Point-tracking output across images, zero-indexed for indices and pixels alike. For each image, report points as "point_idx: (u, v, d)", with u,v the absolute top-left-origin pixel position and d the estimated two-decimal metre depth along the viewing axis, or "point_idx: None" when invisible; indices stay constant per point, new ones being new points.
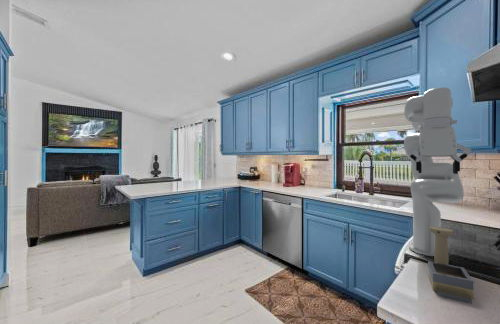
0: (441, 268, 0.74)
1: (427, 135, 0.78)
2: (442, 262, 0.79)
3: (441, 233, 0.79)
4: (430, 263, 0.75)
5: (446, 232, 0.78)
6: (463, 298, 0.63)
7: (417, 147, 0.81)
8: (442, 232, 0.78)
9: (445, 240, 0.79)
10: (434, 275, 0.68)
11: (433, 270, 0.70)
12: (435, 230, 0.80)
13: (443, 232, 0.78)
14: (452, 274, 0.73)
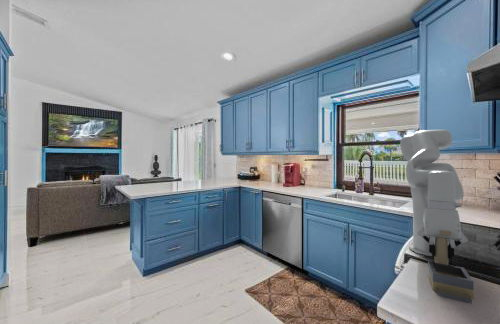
0: (441, 268, 0.74)
1: (431, 216, 0.80)
2: (442, 262, 0.79)
3: (441, 233, 0.79)
4: (430, 263, 0.75)
5: (446, 232, 0.78)
6: (463, 298, 0.63)
7: None
8: (442, 232, 0.78)
9: (445, 240, 0.79)
10: (434, 275, 0.68)
11: (433, 270, 0.70)
12: None
13: (443, 232, 0.78)
14: (452, 274, 0.73)
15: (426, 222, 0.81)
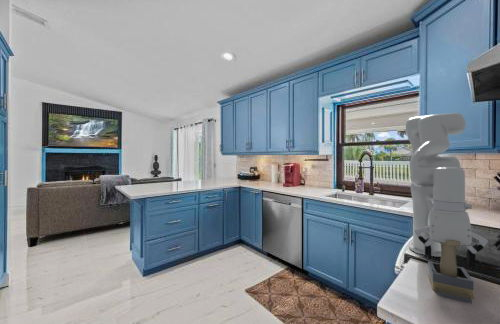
0: None
1: (438, 219, 0.70)
2: None
3: (448, 243, 0.68)
4: (430, 263, 0.75)
5: (454, 242, 0.68)
6: (463, 298, 0.63)
7: (426, 229, 0.73)
8: (450, 242, 0.68)
9: (453, 251, 0.69)
10: (434, 275, 0.68)
11: (433, 270, 0.70)
12: None
13: (451, 242, 0.68)
14: None
15: (431, 226, 0.71)
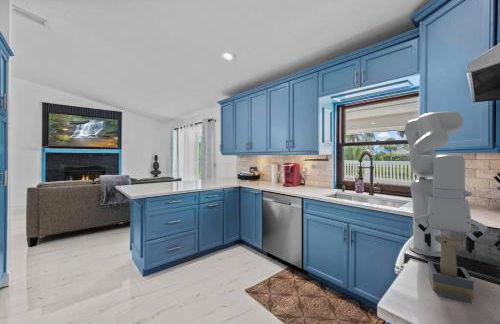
0: None
1: (437, 206, 0.70)
2: None
3: (448, 243, 0.68)
4: (430, 263, 0.75)
5: (454, 242, 0.68)
6: (463, 298, 0.63)
7: (426, 217, 0.73)
8: (450, 242, 0.68)
9: (453, 251, 0.69)
10: (434, 275, 0.68)
11: (433, 270, 0.70)
12: (441, 239, 0.70)
13: (451, 242, 0.68)
14: None
15: (431, 213, 0.71)
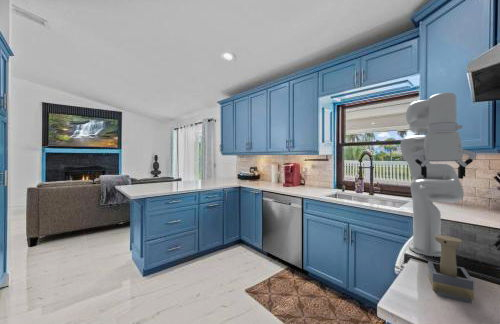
0: None
1: (432, 140, 0.79)
2: None
3: (448, 243, 0.69)
4: (430, 263, 0.75)
5: (454, 242, 0.68)
6: (463, 298, 0.63)
7: (422, 152, 0.81)
8: (449, 242, 0.68)
9: (453, 251, 0.69)
10: (434, 275, 0.68)
11: (433, 270, 0.70)
12: (441, 239, 0.70)
13: (451, 242, 0.68)
14: None
15: (427, 147, 0.80)
